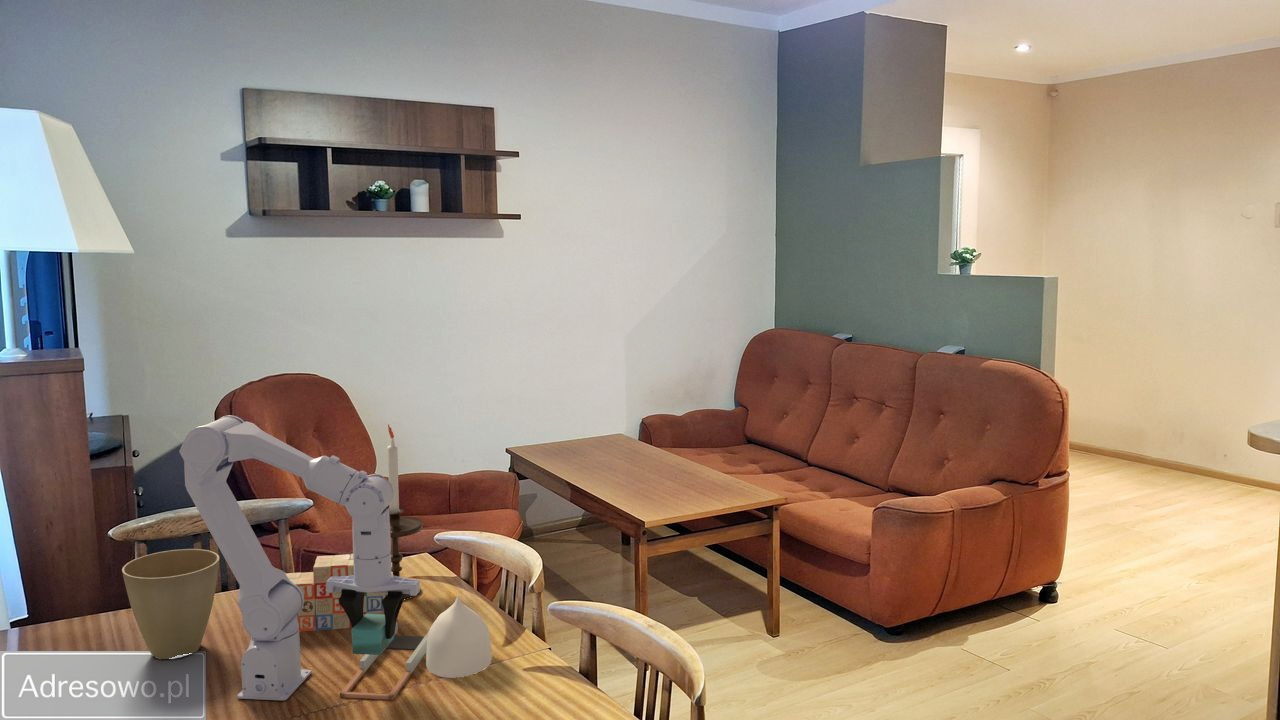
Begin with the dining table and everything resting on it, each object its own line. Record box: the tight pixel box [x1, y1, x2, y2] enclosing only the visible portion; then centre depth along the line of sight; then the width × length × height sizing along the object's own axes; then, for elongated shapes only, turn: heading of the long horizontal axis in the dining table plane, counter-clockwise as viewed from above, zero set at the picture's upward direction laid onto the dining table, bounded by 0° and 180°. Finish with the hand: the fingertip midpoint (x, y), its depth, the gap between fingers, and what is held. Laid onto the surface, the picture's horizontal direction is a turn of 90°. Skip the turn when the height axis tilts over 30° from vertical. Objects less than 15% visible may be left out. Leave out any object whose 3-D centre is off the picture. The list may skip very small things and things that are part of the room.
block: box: [351, 614, 394, 656], centre depth 144 cm, size 6×4×4 cm
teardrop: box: [425, 595, 493, 679], centre depth 153 cm, size 11×11×12 cm
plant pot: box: [121, 548, 220, 660], centre depth 157 cm, size 15×15×16 cm
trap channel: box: [339, 621, 430, 701], centre depth 154 cm, size 24×9×2 cm, turn 176°
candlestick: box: [385, 424, 423, 600], centre depth 182 cm, size 11×11×35 cm
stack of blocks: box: [285, 553, 385, 633], centre depth 169 cm, size 21×6×12 cm, turn 101°
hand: (374, 635), depth 145 cm, fingers closed on block, 4 cm apart
